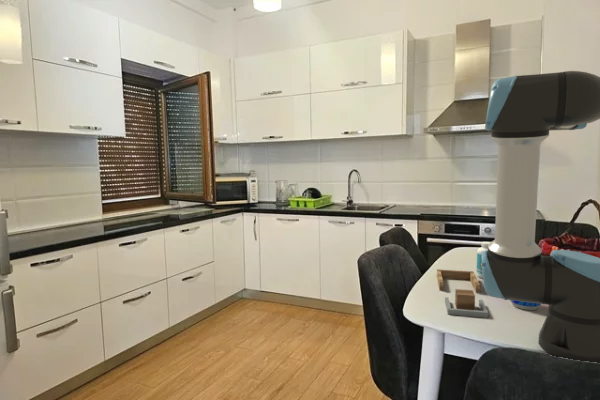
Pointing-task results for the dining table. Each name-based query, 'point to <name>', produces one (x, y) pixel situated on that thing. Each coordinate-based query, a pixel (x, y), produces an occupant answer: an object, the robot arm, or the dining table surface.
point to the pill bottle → (479, 260)
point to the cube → (464, 299)
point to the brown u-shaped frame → (458, 277)
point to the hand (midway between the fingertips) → (510, 219)
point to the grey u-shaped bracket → (467, 312)
